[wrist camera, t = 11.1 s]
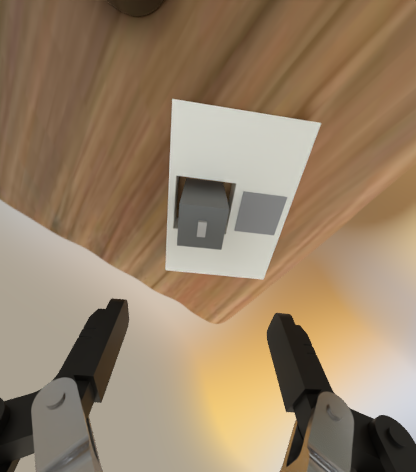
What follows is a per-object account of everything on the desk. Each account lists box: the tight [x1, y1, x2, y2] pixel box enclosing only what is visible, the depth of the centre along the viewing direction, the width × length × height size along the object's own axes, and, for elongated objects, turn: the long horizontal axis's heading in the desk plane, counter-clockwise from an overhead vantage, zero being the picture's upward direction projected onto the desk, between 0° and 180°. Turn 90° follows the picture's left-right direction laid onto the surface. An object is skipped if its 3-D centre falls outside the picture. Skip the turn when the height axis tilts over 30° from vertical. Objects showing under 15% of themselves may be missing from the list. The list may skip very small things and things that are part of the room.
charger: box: [177, 178, 229, 250], centre depth 23 cm, size 4×4×8 cm
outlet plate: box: [165, 99, 321, 279], centre depth 25 cm, size 20×14×3 cm
